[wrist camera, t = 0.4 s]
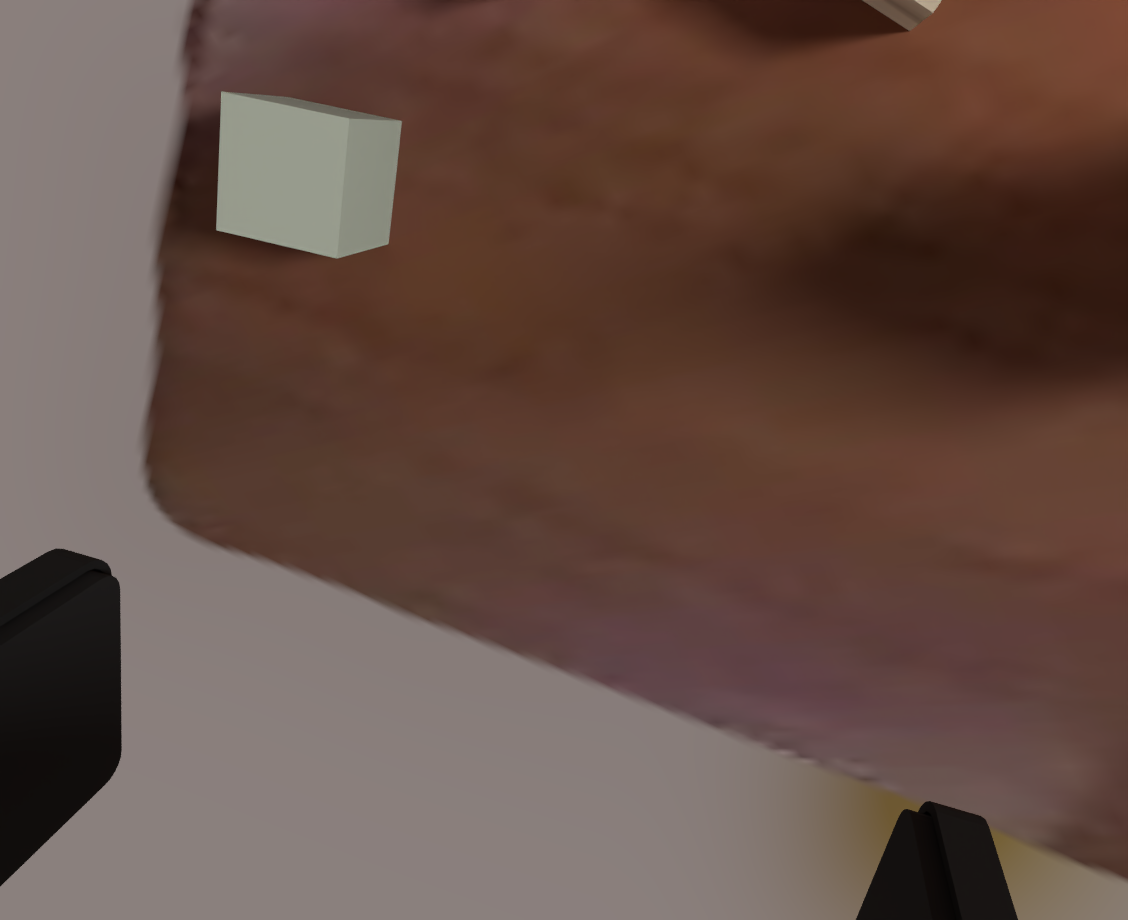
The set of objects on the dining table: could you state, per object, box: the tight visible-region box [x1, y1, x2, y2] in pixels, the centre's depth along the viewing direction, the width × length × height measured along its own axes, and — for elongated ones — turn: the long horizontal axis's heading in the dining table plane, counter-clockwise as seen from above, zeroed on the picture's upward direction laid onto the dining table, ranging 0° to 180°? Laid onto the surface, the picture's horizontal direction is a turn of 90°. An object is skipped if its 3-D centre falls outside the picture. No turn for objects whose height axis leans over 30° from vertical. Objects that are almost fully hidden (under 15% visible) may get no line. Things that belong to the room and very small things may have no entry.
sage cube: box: [216, 92, 402, 258], centre depth 35 cm, size 5×5×5 cm
